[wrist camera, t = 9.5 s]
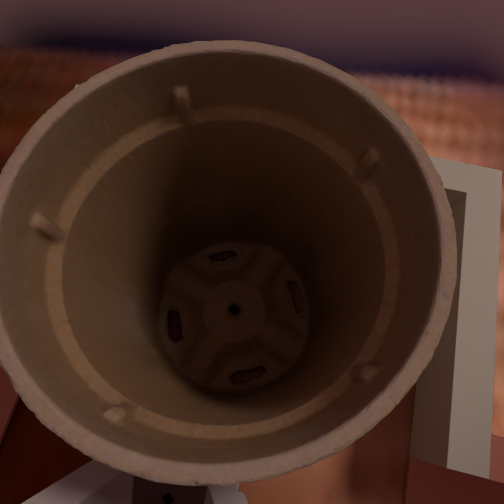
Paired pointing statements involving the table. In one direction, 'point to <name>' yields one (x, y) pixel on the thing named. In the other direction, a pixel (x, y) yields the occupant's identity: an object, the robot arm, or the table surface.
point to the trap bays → (417, 478)
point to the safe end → (464, 332)
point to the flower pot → (220, 263)
